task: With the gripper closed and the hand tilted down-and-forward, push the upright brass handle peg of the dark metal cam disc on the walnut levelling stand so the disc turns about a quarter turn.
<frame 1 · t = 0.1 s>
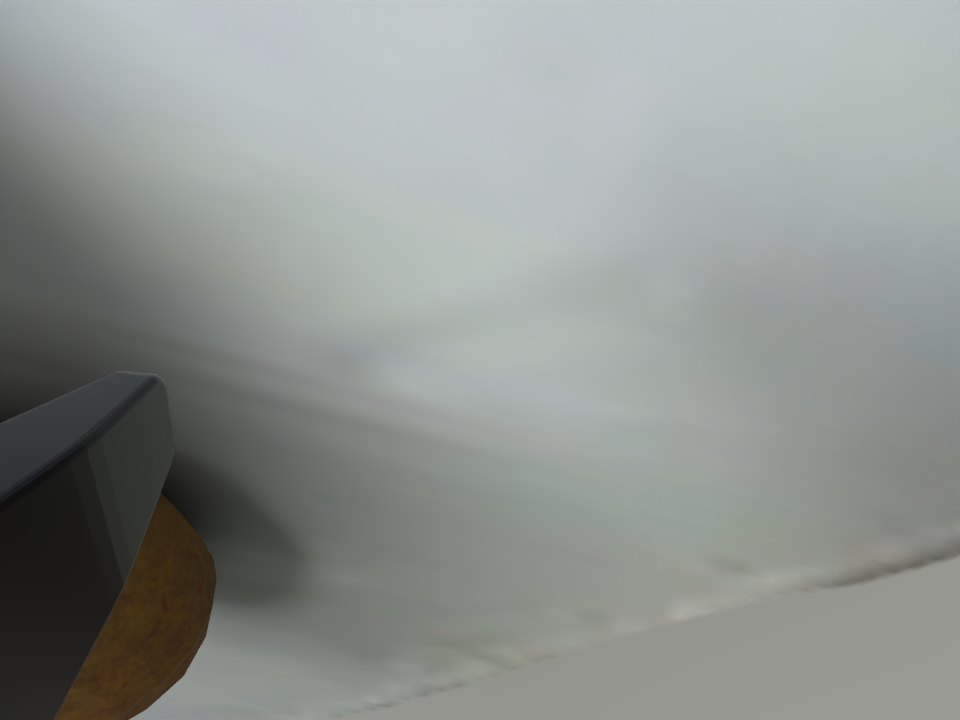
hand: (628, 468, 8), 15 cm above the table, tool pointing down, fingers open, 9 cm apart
potato: (98, 478, 32), on the table
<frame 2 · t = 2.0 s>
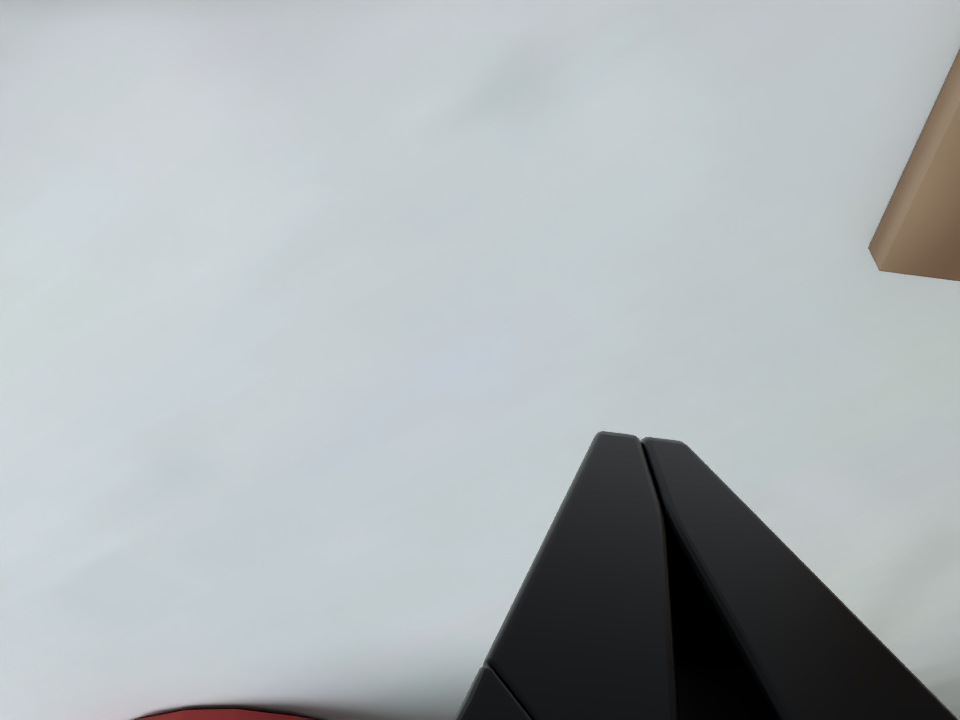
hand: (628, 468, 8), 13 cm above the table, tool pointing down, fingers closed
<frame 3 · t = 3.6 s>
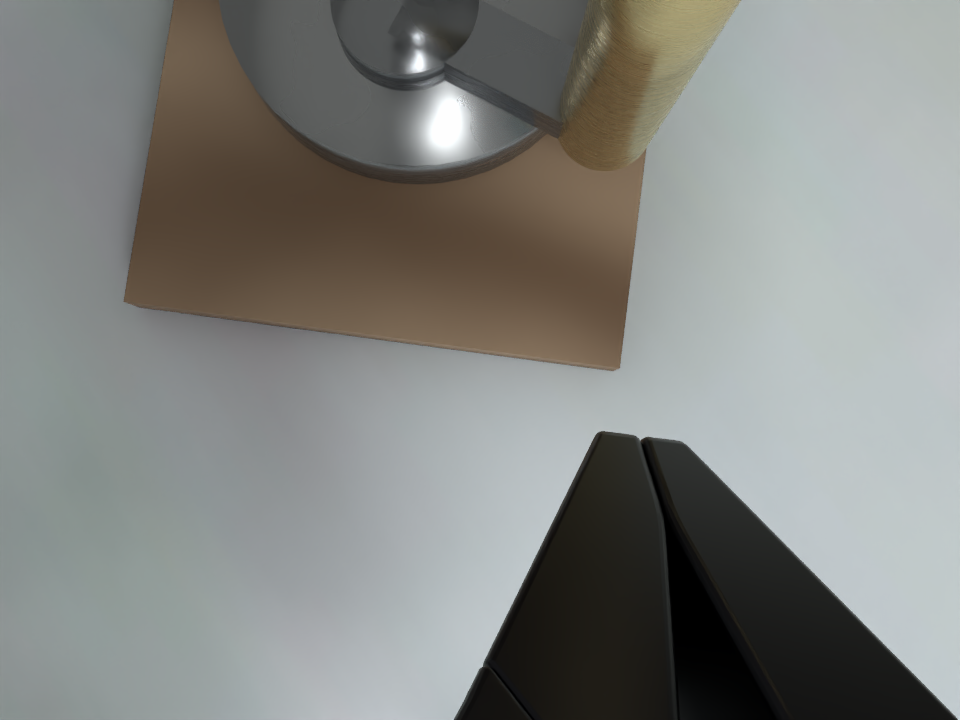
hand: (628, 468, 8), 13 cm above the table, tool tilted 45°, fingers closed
level stand: (414, 71, 22), on the table
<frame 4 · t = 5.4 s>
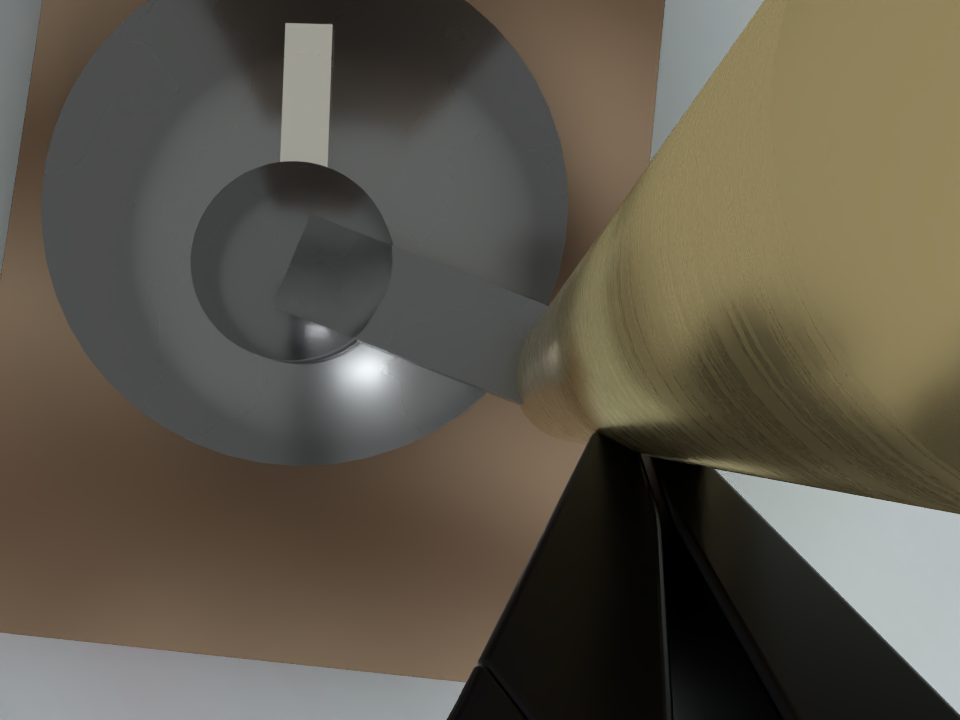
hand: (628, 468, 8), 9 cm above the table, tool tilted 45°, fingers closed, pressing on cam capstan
cam capstan: (272, 74, 9), point 8 cm above the table, hinge at 5.1°, touching gripper
level stand: (328, 294, 17), on the table
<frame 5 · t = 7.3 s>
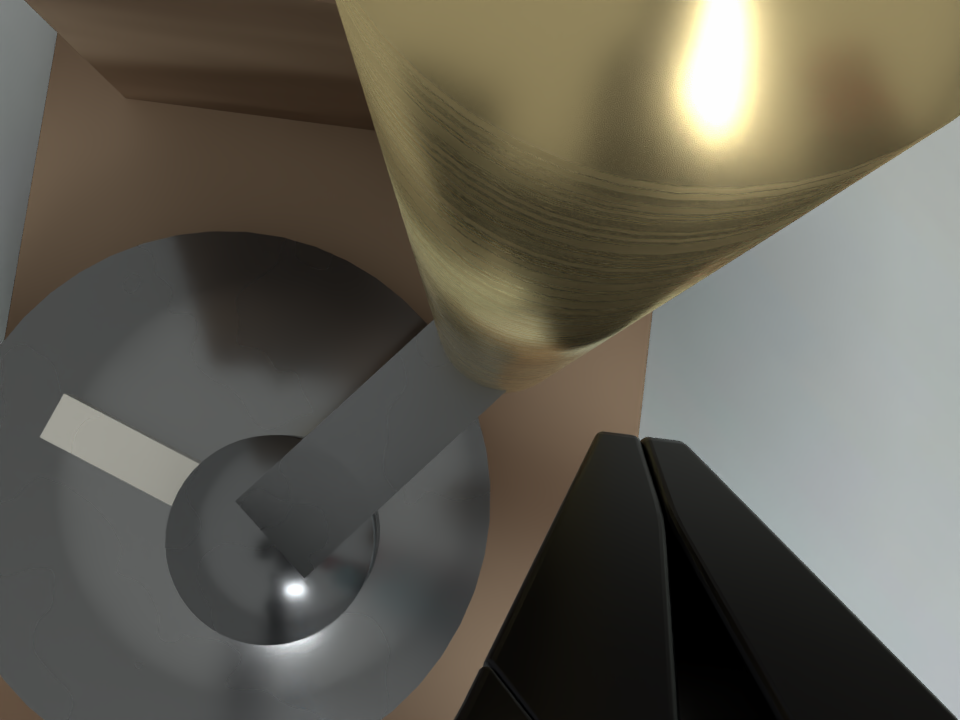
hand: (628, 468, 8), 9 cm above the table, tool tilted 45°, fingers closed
cam capstan: (98, 484, 9), point 8 cm above the table, hinge at 70.1°
level stand: (312, 515, 17), on the table
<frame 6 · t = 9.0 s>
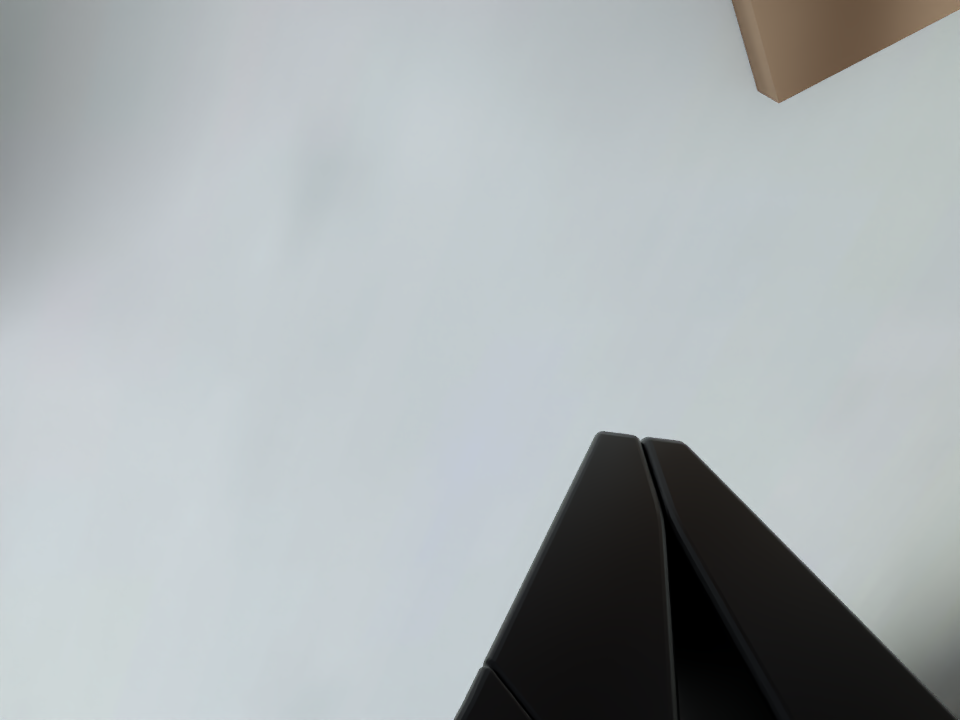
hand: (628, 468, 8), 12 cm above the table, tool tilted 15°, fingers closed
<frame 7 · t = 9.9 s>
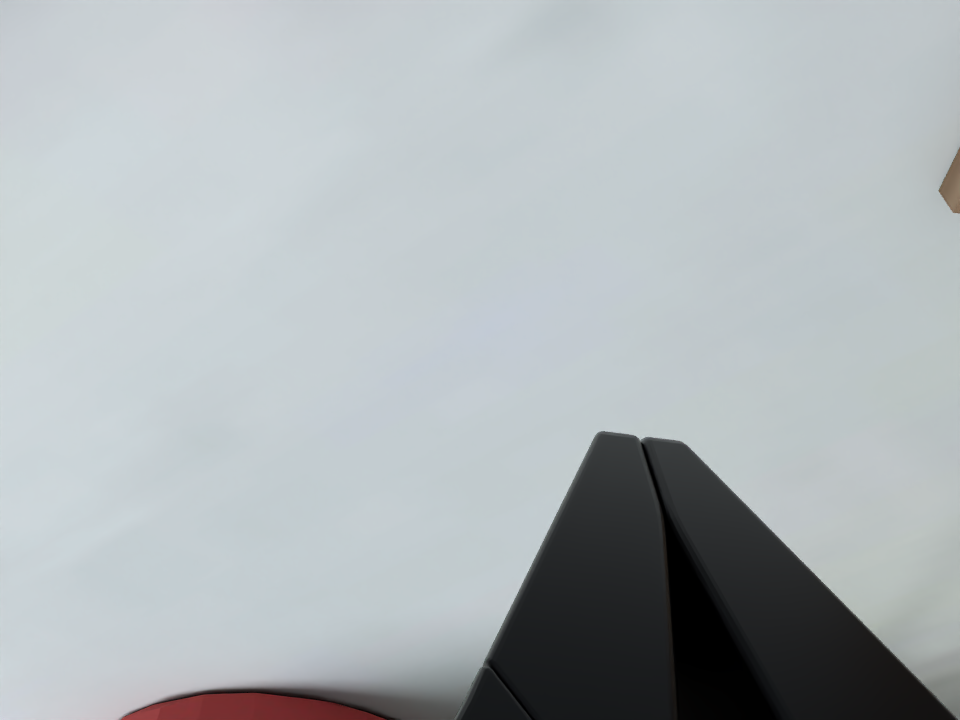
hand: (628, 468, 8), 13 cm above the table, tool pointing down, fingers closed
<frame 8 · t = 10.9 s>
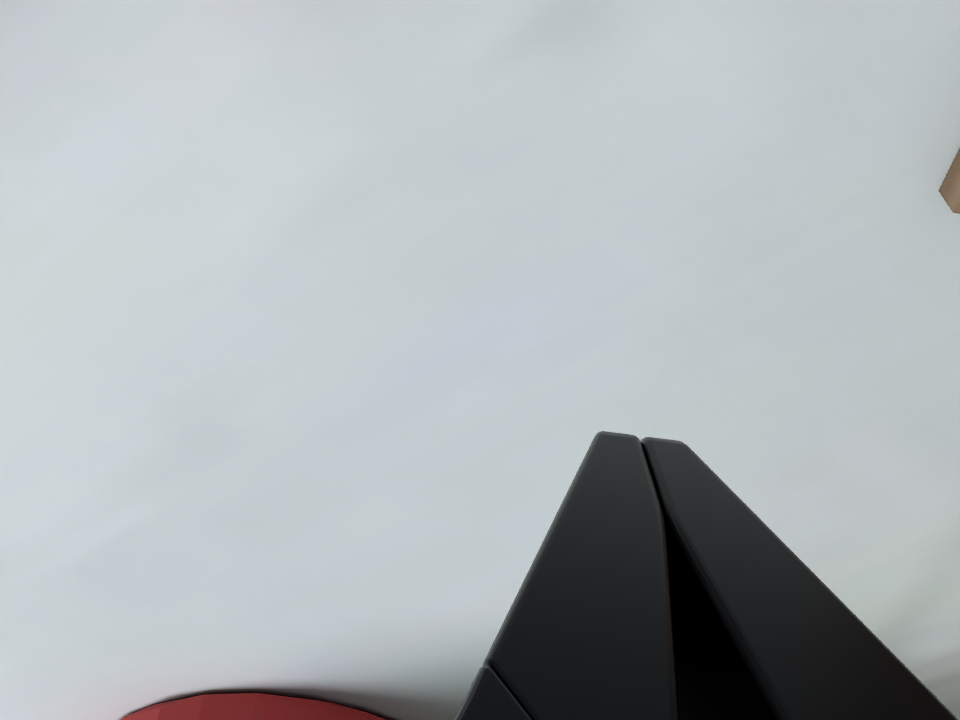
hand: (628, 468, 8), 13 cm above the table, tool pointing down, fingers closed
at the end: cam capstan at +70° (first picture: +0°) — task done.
